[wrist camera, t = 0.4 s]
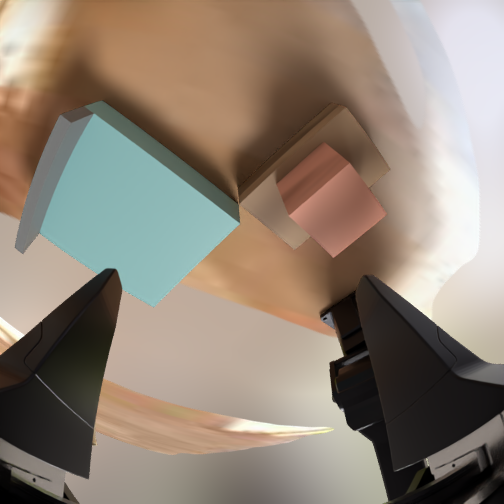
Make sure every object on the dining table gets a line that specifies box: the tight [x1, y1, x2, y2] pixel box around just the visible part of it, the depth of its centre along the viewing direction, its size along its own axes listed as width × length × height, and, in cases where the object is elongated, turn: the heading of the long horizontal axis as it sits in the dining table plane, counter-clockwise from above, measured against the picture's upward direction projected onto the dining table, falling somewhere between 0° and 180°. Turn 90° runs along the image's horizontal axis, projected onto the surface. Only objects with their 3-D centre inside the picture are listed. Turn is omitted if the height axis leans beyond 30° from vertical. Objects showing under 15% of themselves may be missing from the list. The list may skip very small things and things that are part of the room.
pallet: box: [238, 103, 390, 250], centre depth 20 cm, size 6×10×3 cm, turn 136°
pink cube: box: [276, 142, 387, 258], centre depth 17 cm, size 4×4×4 cm
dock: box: [15, 101, 240, 307], centre depth 19 cm, size 14×12×6 cm
